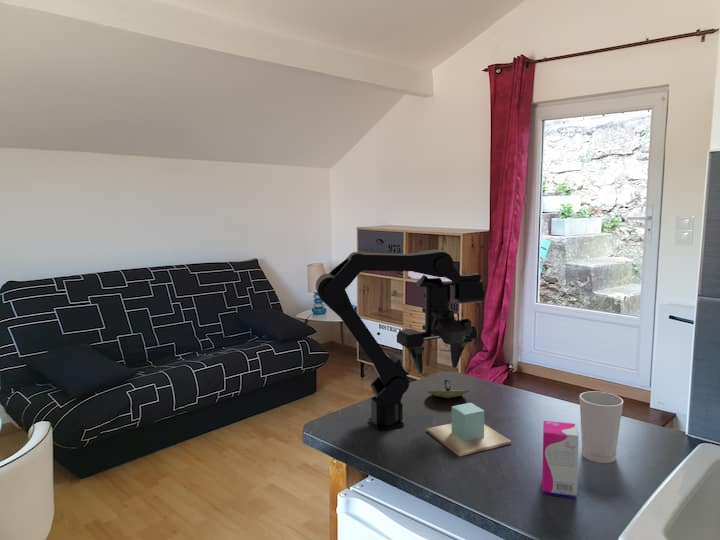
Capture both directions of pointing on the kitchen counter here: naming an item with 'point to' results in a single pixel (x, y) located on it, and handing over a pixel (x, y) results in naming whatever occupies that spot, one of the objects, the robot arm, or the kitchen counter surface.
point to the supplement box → (560, 459)
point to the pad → (468, 447)
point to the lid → (448, 392)
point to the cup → (600, 425)
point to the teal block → (467, 421)
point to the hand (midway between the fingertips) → (437, 370)
